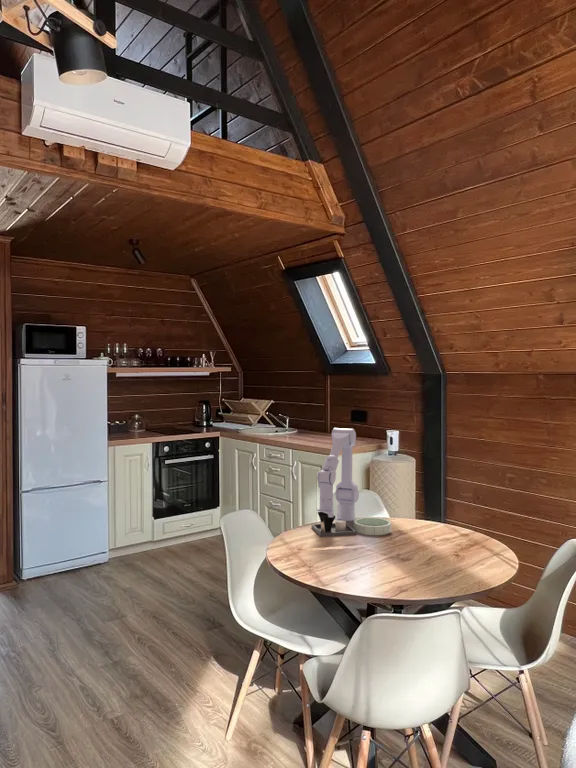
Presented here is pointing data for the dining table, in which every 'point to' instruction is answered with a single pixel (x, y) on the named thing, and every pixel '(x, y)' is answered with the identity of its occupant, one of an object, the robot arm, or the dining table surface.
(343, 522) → the pebble
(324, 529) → the pebble
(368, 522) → the bowl
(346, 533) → the tray
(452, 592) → the dining table surface
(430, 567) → the dining table surface
